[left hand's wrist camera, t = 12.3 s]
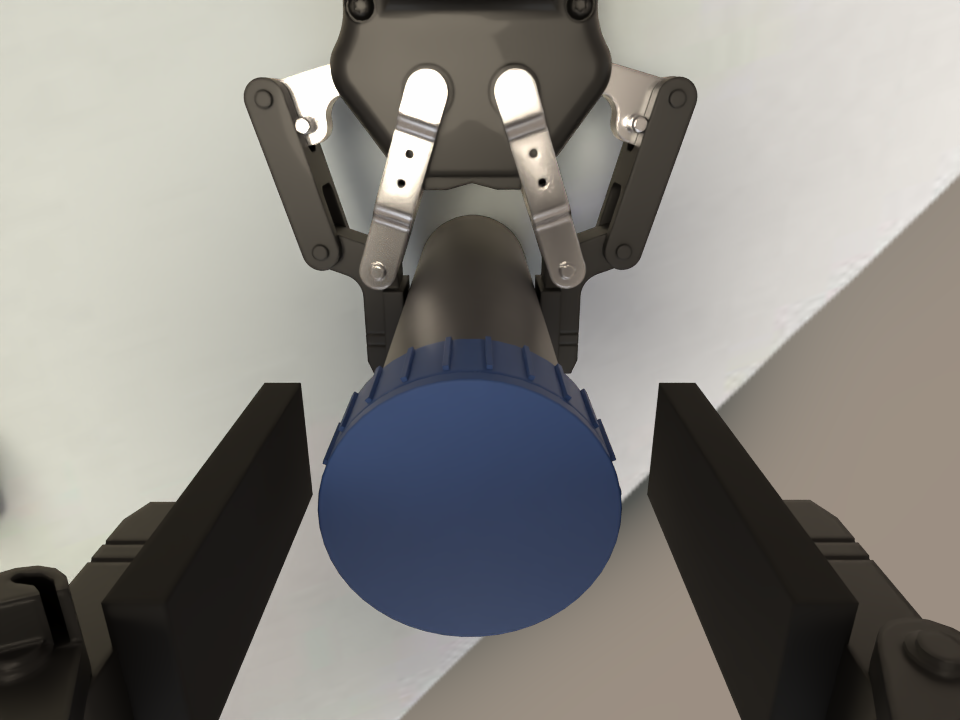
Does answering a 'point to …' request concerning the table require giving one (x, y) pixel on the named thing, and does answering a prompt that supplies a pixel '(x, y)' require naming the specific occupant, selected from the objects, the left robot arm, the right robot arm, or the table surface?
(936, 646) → the left robot arm
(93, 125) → the table surface
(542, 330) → the jar
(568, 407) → the lid
